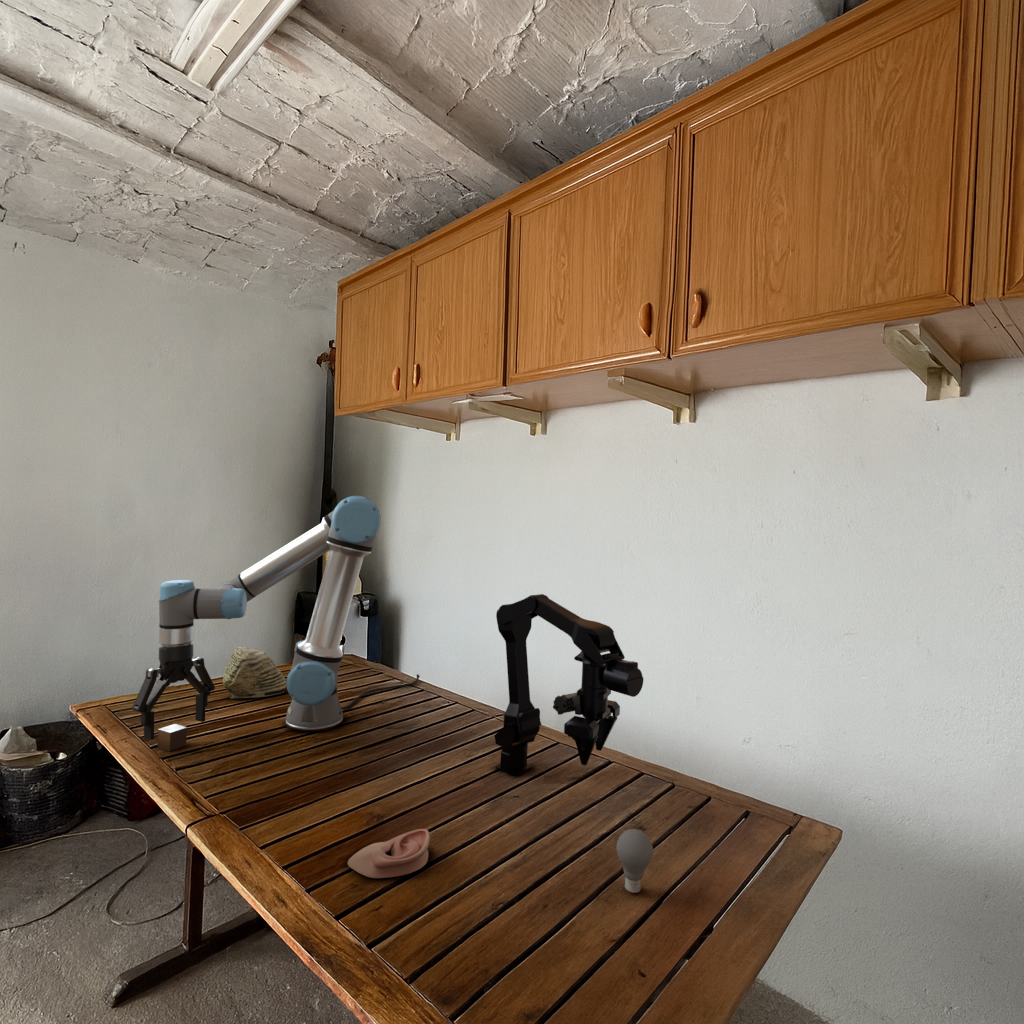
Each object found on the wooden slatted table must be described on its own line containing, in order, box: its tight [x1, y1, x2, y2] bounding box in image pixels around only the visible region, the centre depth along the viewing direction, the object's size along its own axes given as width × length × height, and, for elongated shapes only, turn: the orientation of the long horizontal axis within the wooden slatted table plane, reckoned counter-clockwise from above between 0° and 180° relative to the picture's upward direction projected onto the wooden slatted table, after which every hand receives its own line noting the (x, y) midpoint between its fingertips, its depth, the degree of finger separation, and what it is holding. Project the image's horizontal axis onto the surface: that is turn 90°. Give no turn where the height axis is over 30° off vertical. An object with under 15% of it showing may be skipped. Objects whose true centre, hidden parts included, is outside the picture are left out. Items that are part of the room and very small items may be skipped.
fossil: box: [222, 646, 287, 699], centre depth 198 cm, size 9×18×15 cm, turn 132°
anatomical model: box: [347, 828, 431, 879], centre depth 111 cm, size 13×4×12 cm
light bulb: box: [615, 828, 654, 894], centre depth 106 cm, size 6×6×10 cm
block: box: [157, 723, 188, 752], centre depth 156 cm, size 4×5×4 cm
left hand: (175, 729), depth 156 cm, fingers open, 13 cm apart
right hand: (591, 757), depth 135 cm, fingers open, 9 cm apart
